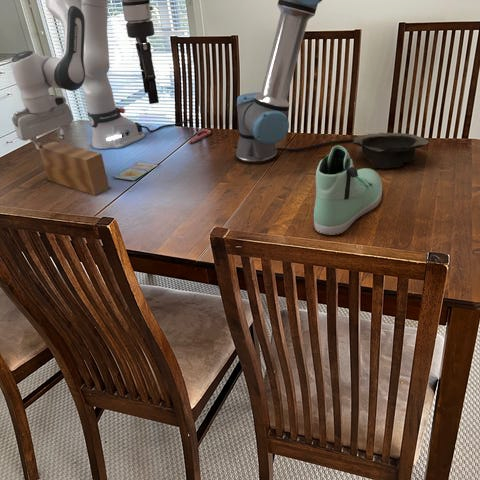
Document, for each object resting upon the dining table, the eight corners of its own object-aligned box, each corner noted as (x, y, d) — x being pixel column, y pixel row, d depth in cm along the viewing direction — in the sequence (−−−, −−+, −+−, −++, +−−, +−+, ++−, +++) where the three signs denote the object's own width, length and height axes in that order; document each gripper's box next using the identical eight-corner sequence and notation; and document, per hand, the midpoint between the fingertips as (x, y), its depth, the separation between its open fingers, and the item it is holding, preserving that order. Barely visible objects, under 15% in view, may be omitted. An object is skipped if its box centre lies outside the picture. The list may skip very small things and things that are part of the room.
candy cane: (180, 142, 197) (179, 139, 196) (203, 131, 207) (202, 127, 206) (191, 144, 194) (191, 141, 193) (214, 133, 204) (213, 129, 203)
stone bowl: (386, 179, 152) (387, 151, 148) (337, 161, 173) (337, 136, 168) (443, 160, 161) (445, 133, 157) (390, 145, 182) (391, 120, 177)
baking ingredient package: (113, 176, 169) (139, 161, 181) (113, 177, 170) (139, 162, 181) (133, 179, 166) (158, 164, 177) (134, 180, 166) (158, 165, 177)
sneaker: (389, 187, 148) (396, 123, 138) (356, 242, 123) (361, 168, 112) (346, 181, 154) (350, 119, 144) (306, 232, 129) (307, 161, 118)
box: (48, 180, 173) (38, 147, 166) (62, 174, 177) (53, 141, 170) (95, 195, 159) (86, 159, 152) (109, 188, 163) (101, 153, 156)
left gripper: (15, 115, 151) (30, 156, 158) (69, 96, 164) (80, 134, 171) (5, 113, 154) (20, 153, 162) (58, 94, 167) (70, 132, 175)
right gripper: (157, 24, 124) (169, 106, 135) (147, 15, 145) (158, 86, 156) (128, 27, 123) (143, 110, 134) (122, 18, 143) (135, 89, 154)
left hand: (51, 143), depth 167 cm, fingers open, 8 cm apart
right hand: (151, 97), depth 145 cm, fingers open, 13 cm apart
